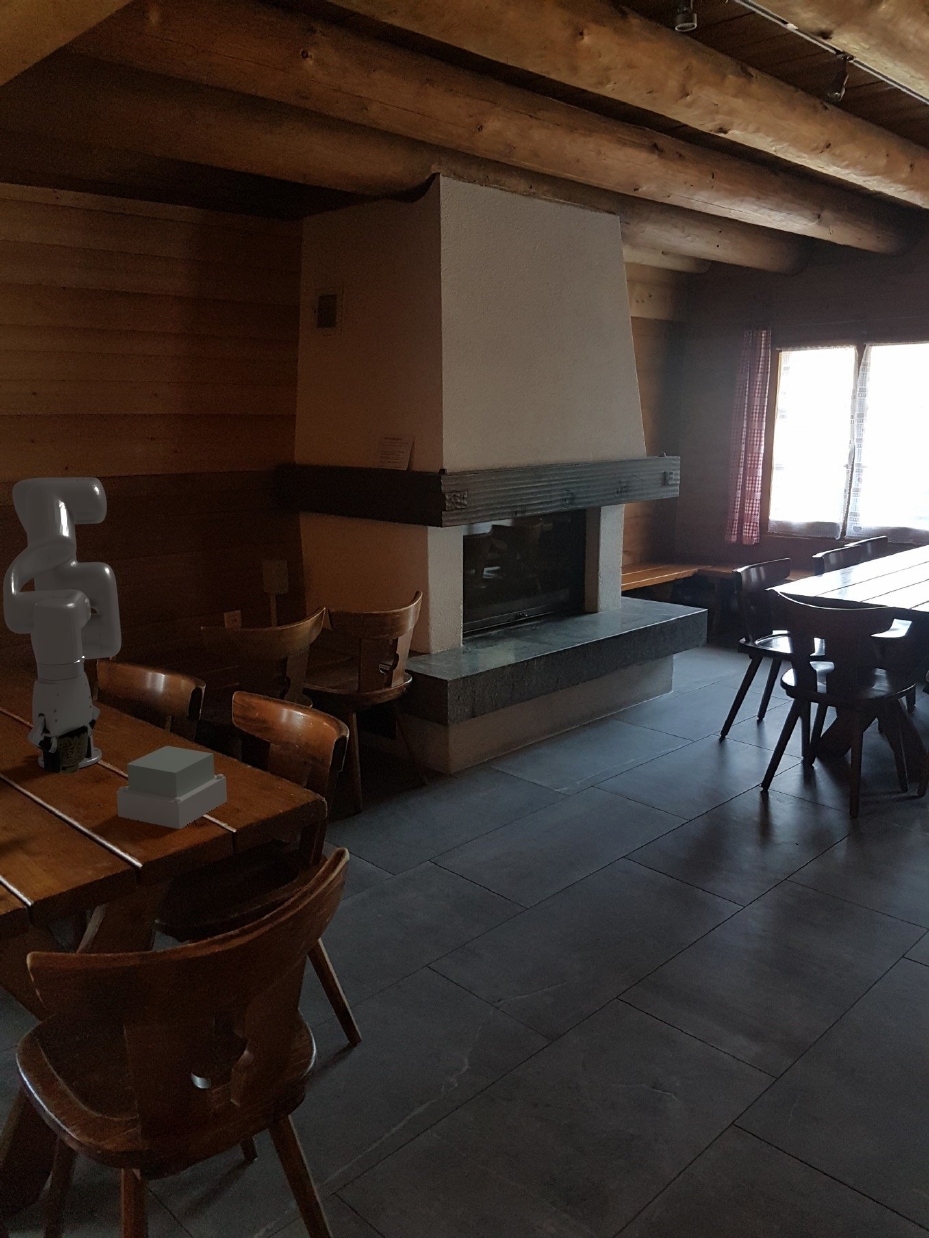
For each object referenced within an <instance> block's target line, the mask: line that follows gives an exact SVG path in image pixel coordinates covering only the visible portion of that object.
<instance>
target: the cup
mask: <svg viewBox="0 0 929 1238" xmlns="http://www.w3.org/2000/svg"><path fill="white" fill-rule="evenodd" d="M51 738H52V737H47V740H48V743H49V744H50V742H51ZM57 740H58V744H57V747H56V751H59V758H60V772H59V773H60V774H63V775H72V774H75V773H77V772H78V771H80V765H79V763H80V762H81V761H83V759H84V758H85V756H86V752H87V744H88V726H86V727H85V730H83V728H82V727H81V728H78V729H75V730H73V731H71V732H68V733H66V734H63V735H61V736H59V738H57Z"/></svg>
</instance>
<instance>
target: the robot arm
mask: <svg viewBox="0 0 929 1238" xmlns="http://www.w3.org/2000/svg"><path fill="white" fill-rule="evenodd" d="M11 495H12V501H13V505H14V508H15V512H16V515H17V517H18V518H19V519H18V520H19V522H20V523H21V525H22V527H23V529H24V531H25V533H26V537H27V547H26V548H25V549H24V550H22V551H21V552H20V553H19V554H17V556H16V557H15V558H14V560H13V561H12V562H11V564H9V566H8V568H7V570H6V572H5V575H4V578H3V585H2V587H3V589H2V592H3V595H2V596H3V617H4V622H5V625H6V626H7V628H8V629H9V630H10V631H11V632H13V633H15V634H17V635H18V634H19V635H20V634H21V635H22V634H24V635H25V634H26V635H27V634H30V640H31V641H30V642H31V645H32V649H33V654H34V657H35V662H36V668H37V669H36V670H37V679H36V680H35V681H34V684H33V689H32V704H31V705H32V710H31V712H32V729H30V732H29V733H28V735H27V740H29V742H31V743H32V744H33V745H34V746H33V747H34V748H36V749H38V750H39V751H41V752H42V754H41V755H40V756H39V757H38V759H37V760H38V761H37V762H38V765H39V766H40V767H41V768H43V770H44V771H46V772H50V773H54V774H58V773H60V758H59V751H56V747H57V744H58V740H57V738H59V736H61V735H63V734H66V733H68V732H71V731H73V730H75V729H78V728H81V727H82V728H83V730H85V727H86V726H88V744H87V752H86V756H85V758H84V759H83V761H81V762H80V763H79V765H80V768H84V767H85V768H86V767H88V766H90V765H91V766H92V765H94V764H95V763H97V762H99V761H100V760H101V758H102V755H103V754H102V750H101V749H100V748H98V747H95V746H94V738H93V735H94V731H93V729H94V727H95V726H96V723H97V719H98V717H99V715H100V713H101V709H100V708H98V707H97V706H95V705H94V704H93V701H92V696H91V693H92V692H91V688H90V685H89V678H88V676H87V673H86V671H84V663H85V661H86V660H92V659H102V658H103V659H104V658H111V657H114V656H116V655H117V654H118V653H119V652H120V650H121V647H122V631H121V620H120V609H119V599H118V597H119V595H118V588H117V581H116V575H115V573H114V570H113V569H112V567H111V565H109V564H108V563H105V562H103V561H101V562H100V561H93V562H92V561H90V562H89V561H88V562H79V561H78V560H77V549H78V548H77V537H76V527H75V525H82V524H83V525H84V524H85V525H87V524H88V525H89V524H100V523H102V522H103V521H104V520H105V519H106V516H107V511H108V508H107V506H108V505H107V503H108V502H107V495H106V491H105V489H104V486H103V484H102V482H101V481H100V480H99V478H97V477H91V476H90V477H88V476H85V477H83V476H81V477H79V476H78V477H76V476H74V477H36V478H35V477H34V478H27V479H23V480H20V481H18V482H16V483H15V484H14V485H13V488H12V493H11ZM30 580H34V581H33V583H34V590H32V591H30V590H29V591H21V590H22V588H23V587H24V586H25V584H27V583H28V582H29V581H30ZM92 609H94V610H95V611H96V612H95V613H92V612H91V611H92ZM47 737H52V738H51V742H50V744H49V743H48V740H47ZM80 768H79V769H80Z"/></svg>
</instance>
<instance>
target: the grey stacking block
mask: <svg viewBox="0 0 929 1238" xmlns="http://www.w3.org/2000/svg"><path fill="white" fill-rule="evenodd" d="M214 759H215V758H214V753H212V752H207V751H206V752H205V751H201V750H195V749H189V748H182V747H176V746H170V745H165V746H163V747H161V748H159V749H156V750H154V751H152V752H150V753H147V754H146V755H143V756H142V757H139V758H137V759H135V760H132V761H131V762H129V763H127V764H126V769H127V783H128V785H127V786H120V787H119V788H118V790H116V802H117V803H116V804H117V815H118V817H120V818H123V819H128V818H129V819H128V820H132V821H137V820H139V821H138V822H141V823H142V822H143V823H147V822H148V824H152V825H156V824H157V825H158V826H162V827H167V828H172V829H175V830H176V829H177V830H181V829H183V828H184V827H186V826H188V825H190V824H191V823H193V822H194V820H195V821H197V820H198V819H200V818H201V817H204V816H205V815H206V813H207V814H208V813H210V812H212V811H213V810H215V809H217V808H218V807H220V806H222V805H224V804H225V803H226V802H228V795H227V777H226V776H224V774H222V773H218V774H217V775H216V774H215V763H214V762H215V761H214ZM216 807H217V808H216ZM211 810H212V811H211ZM209 811H210V812H209ZM204 814H205V815H204ZM189 823H190V824H189ZM187 824H188V825H187Z"/></svg>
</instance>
